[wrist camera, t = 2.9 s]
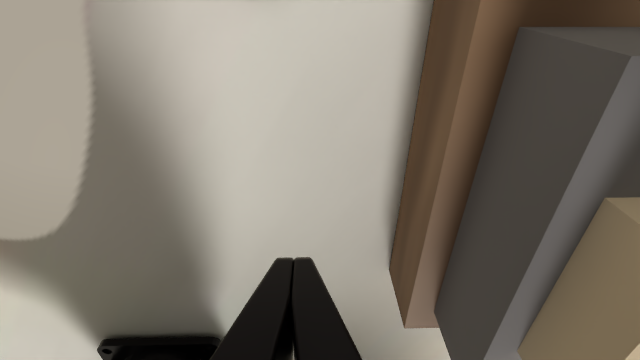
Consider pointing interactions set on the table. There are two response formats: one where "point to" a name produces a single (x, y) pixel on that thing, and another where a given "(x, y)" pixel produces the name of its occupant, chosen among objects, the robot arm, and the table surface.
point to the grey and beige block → (553, 207)
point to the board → (464, 127)
